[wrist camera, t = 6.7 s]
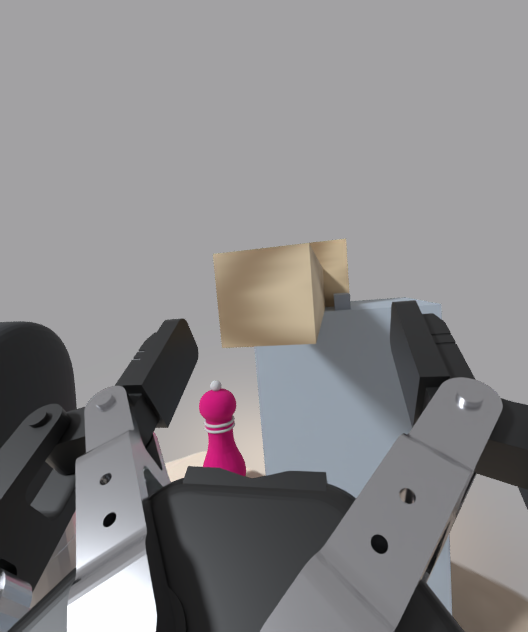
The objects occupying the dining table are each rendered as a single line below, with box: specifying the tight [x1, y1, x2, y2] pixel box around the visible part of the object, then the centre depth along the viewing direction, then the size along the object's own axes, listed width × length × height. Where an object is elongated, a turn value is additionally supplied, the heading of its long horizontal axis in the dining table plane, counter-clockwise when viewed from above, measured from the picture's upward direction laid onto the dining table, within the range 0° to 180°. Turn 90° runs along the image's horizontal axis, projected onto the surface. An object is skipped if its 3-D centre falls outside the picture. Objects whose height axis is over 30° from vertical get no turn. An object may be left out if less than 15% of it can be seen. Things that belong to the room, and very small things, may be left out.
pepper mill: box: [199, 380, 246, 476], centre depth 51 cm, size 7×7×20 cm
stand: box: [255, 293, 452, 615], centre depth 30 cm, size 14×11×33 cm
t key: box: [213, 239, 349, 348], centre depth 23 cm, size 8×24×6 cm, turn 168°
